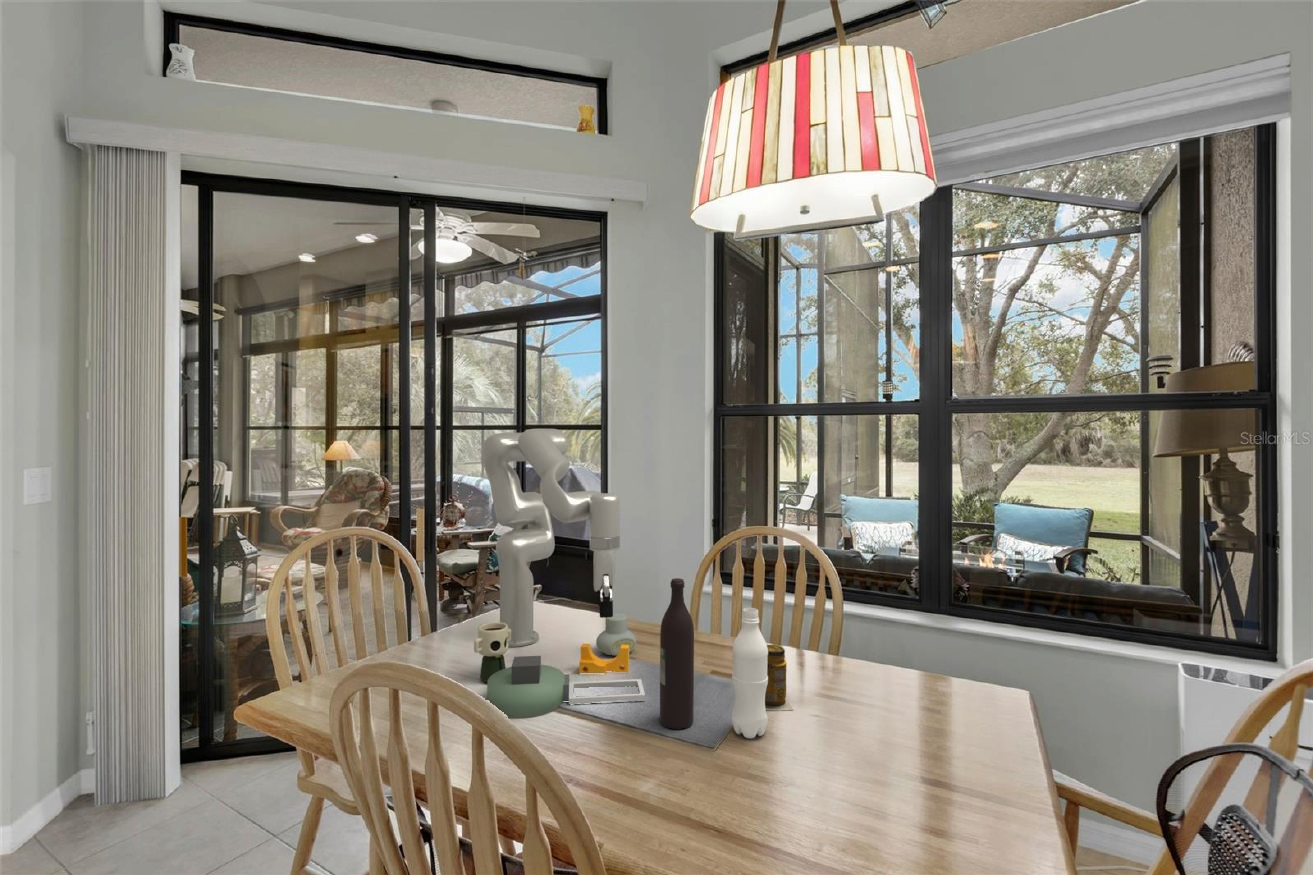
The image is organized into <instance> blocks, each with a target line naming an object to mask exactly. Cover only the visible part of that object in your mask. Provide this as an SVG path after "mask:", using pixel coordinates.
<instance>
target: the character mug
mask: <svg viewBox="0 0 1313 875" xmlns="http://www.w3.org/2000/svg"><path fill="white" fill-rule="evenodd" d="M510 641H511V629H508V625H507V624H505V623H501V622H500V621H499V622H496V621H493V622H486V623H482V624H481V625H479V626H478V627H477V638H475V639H474V640H473V649H474V650H473V651H474V653H475V654H478V653H479V655H481V656H482V659H481V665H480V671H479V672H480V673H479V679H481V681H484V682H486V683H487V682H488V679H489V678H490V676H492V675H493V674H494V673H496V672H498V671H500V670H502V669H505V668H506V662H505V656H504V655H505V654H506V653H507V651H508V649H509V647H508V646H509V644H508V642H510Z"/></svg>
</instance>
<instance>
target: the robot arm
mask: <svg viewBox="0 0 1313 875" xmlns="http://www.w3.org/2000/svg"><path fill="white" fill-rule="evenodd" d="M568 448H569V441H568V438H567V436H566V434H564V433H563V431H561V430H560V429H556V428H530V429H527V430H525V431H523V432H499V433H494V434H492V435H489V436H488V437H487V438H486V439H485V440H484V442H483V445H482V448H481V461H482V466H483V468H484V471H485V473H486V476H487V479H488V481H489V485H490V492H491V497H492V503H493V507H494V513H495V519H496V520H497V522H498V524H499V525H500V526H502V527H507V528H509V527H517V526H525V525H527V527H528V528H524V529H518V530H517V529H515V530H511V531H508V532H504V533H503V534H502V535H500V536H499V538H497V541H496V543H495V550H496V558H497V563H498V570H499V622H501V623H505V624H507V625H508V629H511V641H510V642H508V644H509V646H508V648H509V647H510V648H512V647H513V648H514V647H515V648H517V647H525V646H528V645H532V644H534V643H536V642H537V641H538V640H539V639H540V638H539V637H540V634H539V633H538V632H537V631H536V630H534V576H533V572H531V569H530V568H529V566H528V563H530V562H535V561H539V560H540V561H541V560H544V559H547V558H549V557H551V556H552V554H553V553H554V550H555V546H556V545H555V534H554V529H553V524H552V519H551V515H552V516H553V517H554V518H555V519H556V520H558V521H559V522H561V523H565V524H570V523H575V522H583V521H584V522H585V521H589V551H592V552H593V589H594V592H597V599H598V600H597V606H598V607H599V617H600V618H601V619H602V618H603V619H606V617H613V614H614V600H613V591H614V590H615V584H616V583H615V582H616V580H615V579H616V551H618V550H620V549H621V541H620V540H621V536H620V534H621V532H620V531H621V529H620V528H621V526H620V524H621V522H620V521H621V518H620V515H621V513H620V511H621V510H620V497H619V495H617V494H615V493H608V492H607V493H605V492H604V493H603V492H599V491H595V490H584V491H581V490H580V491H573V492H572V491H571V492H566V491H565V490H564V489H563V488H562V487H561V486H560V484H559V483H558V482H559V481H561V480H562V479H563V478H564V477H565V476H566V474H567V473H568V470H569V468H570V463H569V461H568V458H566V456H565V455H566V454H567V451H568ZM509 462H512V463H513V462H528V464H529V465H530V466H531V467H532V468H533V470H534V471H535V472H536V474H537V475H538V476H539V477H540V483H539V492H540V493H538V492H536V491H528V492H527V491H526V492H523V490H522V486H521V481H520V478H519V474H517V472H516V471H515V469H514V468H513V467H512V466H511V465H510V464H509Z"/></svg>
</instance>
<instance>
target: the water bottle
mask: <svg viewBox="0 0 1313 875" xmlns="http://www.w3.org/2000/svg"><path fill="white" fill-rule="evenodd" d="M741 622H742V626H741V629H740V631H739V632H738V634H737V636H736V638H735V640H734V642H733V646H732V650H731V651H732V674H731V681H732V684H733V689H734V702H733V708H732V711H731V712H732V713H731V723H732V726H733V727H732V728H733V729H734V732H735V733H736V734H737V735H741V734H742V735H743V737H744V738H746V739H755V737H756V736H759V737H761V736H763V735H764V733H765V731H766V729H767V728H768V726H767V725H768V721H769V720H768V714H767V710H765V693H766V688H767V684H768V676H767V656H768V648H767V645H768V644H767V642H766V640H765V638H764V636H763V634H762V633H761V630H760V627H759V623H760V618H759V610H758V609H757V608H755V607H744V608H743V610H742V619H741Z"/></svg>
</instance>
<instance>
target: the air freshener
mask: <svg viewBox="0 0 1313 875" xmlns="http://www.w3.org/2000/svg"><path fill="white" fill-rule="evenodd" d="M595 642H596V644H595V645H596V646H597V649H598V650H599V651H600V652H602V653H603V654H605V655H607V656H611V655H612V657H616V656H617V655H618V654H619V653H620V648H621V645H629V653H630V652H632V651H633V650H634V649H635V647H636V645H637V638H636V636H635V634H634V633H633V632H632V631H630V630H628V616H627V615H626V614H624V613H617V612H616V613H615V612H613V617H606V618H605V630H603V631H602V632H601V633H599V634H598V636H597V637H596V640H595Z"/></svg>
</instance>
